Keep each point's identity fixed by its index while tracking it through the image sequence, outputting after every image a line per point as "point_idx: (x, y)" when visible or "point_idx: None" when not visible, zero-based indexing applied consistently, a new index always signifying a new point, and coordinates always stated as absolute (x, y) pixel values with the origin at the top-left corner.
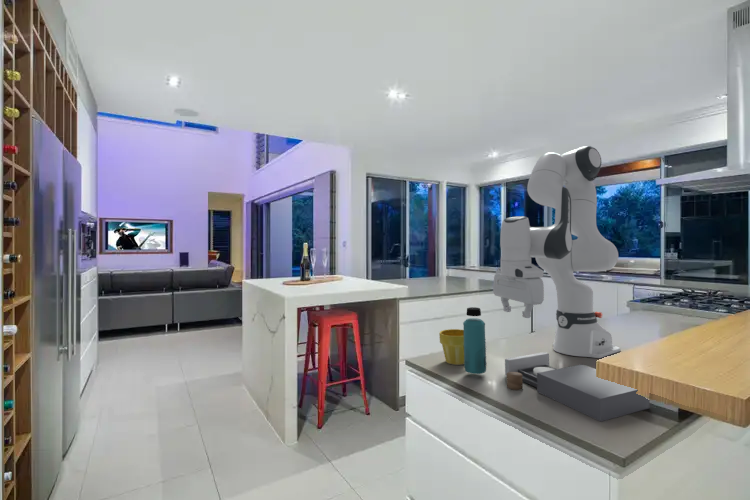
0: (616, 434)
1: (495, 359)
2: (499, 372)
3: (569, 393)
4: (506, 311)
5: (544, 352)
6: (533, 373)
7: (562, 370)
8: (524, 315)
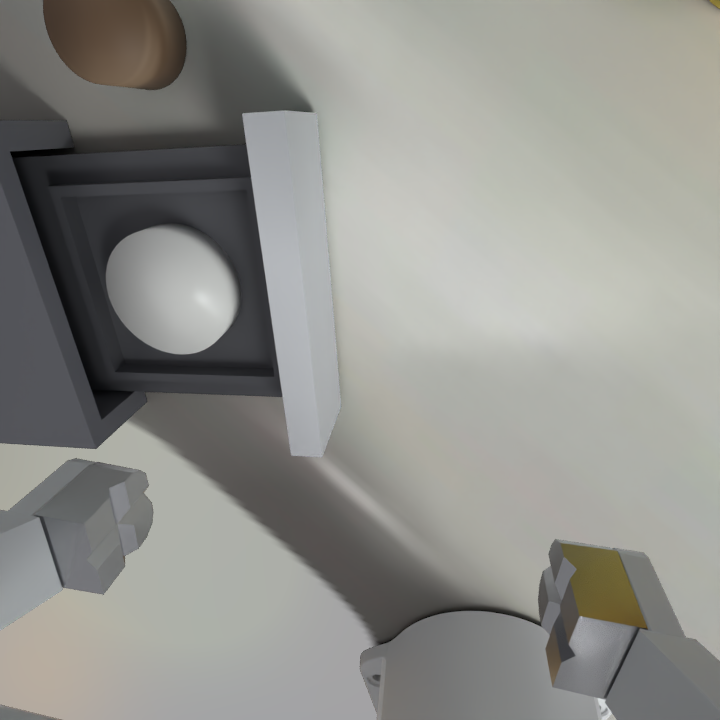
0: None
1: (618, 278)
2: (391, 124)
3: None
4: (557, 541)
5: (317, 450)
6: (202, 237)
7: (15, 295)
8: (72, 475)
